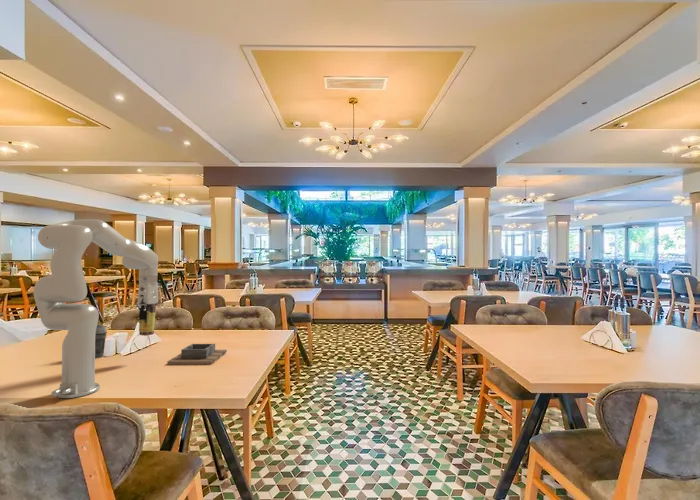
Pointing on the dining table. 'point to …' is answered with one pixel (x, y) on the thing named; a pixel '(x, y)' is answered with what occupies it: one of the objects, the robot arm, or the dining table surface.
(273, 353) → the dining table surface
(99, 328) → the beverage cup
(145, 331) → the sauce bottle
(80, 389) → the robot arm
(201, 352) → the condiment holder
